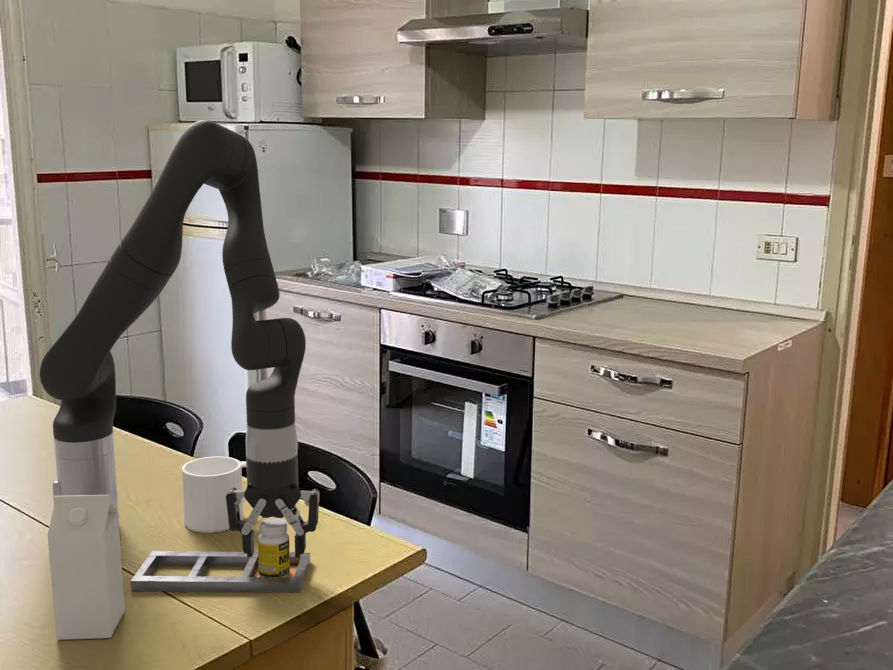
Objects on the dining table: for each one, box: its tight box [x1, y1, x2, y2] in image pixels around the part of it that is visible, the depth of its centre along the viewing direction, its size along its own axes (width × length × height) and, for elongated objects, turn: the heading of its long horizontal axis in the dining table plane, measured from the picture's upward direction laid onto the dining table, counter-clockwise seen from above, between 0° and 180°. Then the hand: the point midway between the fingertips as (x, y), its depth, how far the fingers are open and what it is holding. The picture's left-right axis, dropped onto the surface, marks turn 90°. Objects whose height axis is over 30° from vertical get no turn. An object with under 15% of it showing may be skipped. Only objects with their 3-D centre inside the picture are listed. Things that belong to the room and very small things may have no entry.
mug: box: [181, 455, 247, 534], centre depth 158 cm, size 13×10×10 cm
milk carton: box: [47, 495, 126, 641], centre depth 122 cm, size 7×7×19 cm
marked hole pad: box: [253, 566, 298, 577], centre depth 138 cm, size 6×6×1 cm
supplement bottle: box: [257, 517, 291, 577], centre depth 137 cm, size 5×5×8 cm
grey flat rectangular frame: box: [130, 550, 311, 593], centre depth 138 cm, size 25×10×2 cm, turn 90°
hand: (274, 555), depth 138 cm, fingers open, 6 cm apart
